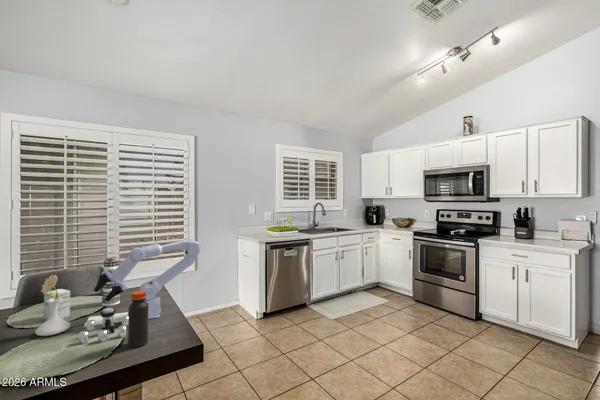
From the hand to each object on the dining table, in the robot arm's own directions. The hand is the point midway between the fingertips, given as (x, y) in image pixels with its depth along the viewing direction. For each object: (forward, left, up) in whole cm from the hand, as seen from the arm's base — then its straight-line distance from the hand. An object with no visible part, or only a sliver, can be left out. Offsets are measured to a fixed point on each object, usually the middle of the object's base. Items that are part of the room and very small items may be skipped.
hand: (100, 296), depth 132 cm
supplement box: (+20, -18, -13) cm, 30 cm away
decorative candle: (0, -32, -13) cm, 34 cm away
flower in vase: (+16, +2, -13) cm, 21 cm away
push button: (-4, +11, -13) cm, 18 cm away
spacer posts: (-4, +11, -13) cm, 17 cm away
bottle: (-17, +27, -13) cm, 35 cm away
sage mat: (-2, -6, -13) cm, 14 cm away
